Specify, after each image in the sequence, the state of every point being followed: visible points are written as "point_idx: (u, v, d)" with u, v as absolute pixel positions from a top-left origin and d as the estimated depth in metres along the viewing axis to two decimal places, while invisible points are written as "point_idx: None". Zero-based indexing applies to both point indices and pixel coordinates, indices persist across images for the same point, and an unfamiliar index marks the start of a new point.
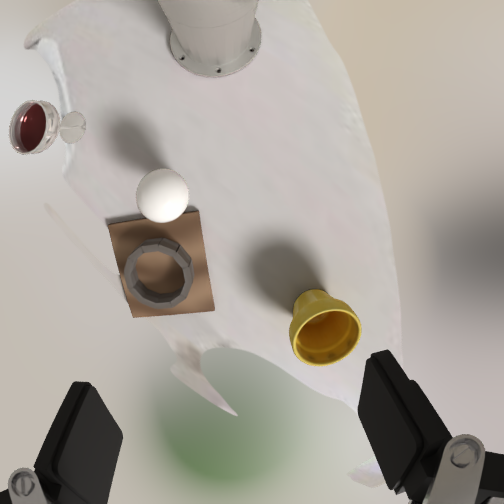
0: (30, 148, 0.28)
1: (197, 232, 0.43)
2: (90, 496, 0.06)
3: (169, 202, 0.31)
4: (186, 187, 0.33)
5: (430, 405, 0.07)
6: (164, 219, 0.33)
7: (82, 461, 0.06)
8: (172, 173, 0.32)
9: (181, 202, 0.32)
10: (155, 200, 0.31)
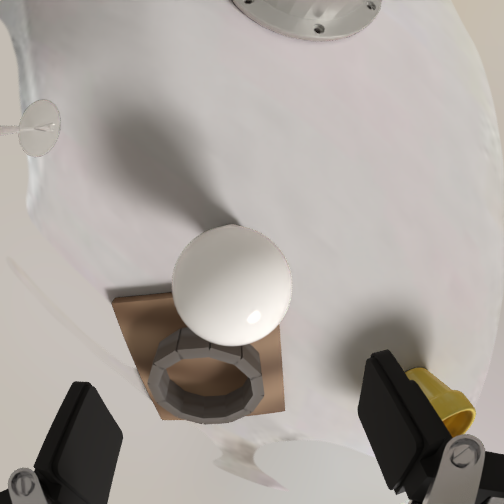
0: None
1: None
2: (90, 496, 0.06)
3: (263, 319, 0.14)
4: (290, 272, 0.15)
5: (430, 405, 0.07)
6: (244, 344, 0.15)
7: (82, 461, 0.06)
8: (261, 243, 0.14)
9: (284, 311, 0.15)
10: (230, 318, 0.13)
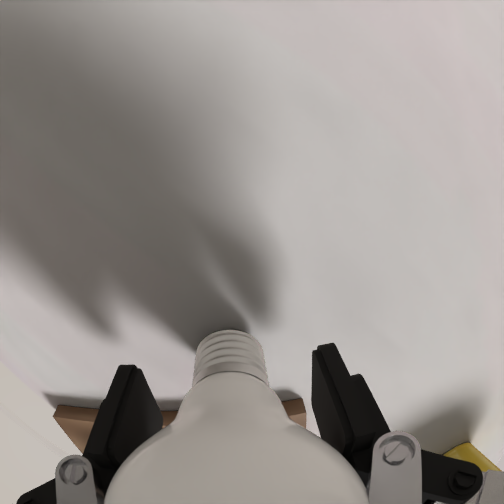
0: None
1: None
2: None
3: None
4: None
5: (373, 399, 0.07)
6: None
7: (133, 443, 0.07)
8: None
9: None
10: None
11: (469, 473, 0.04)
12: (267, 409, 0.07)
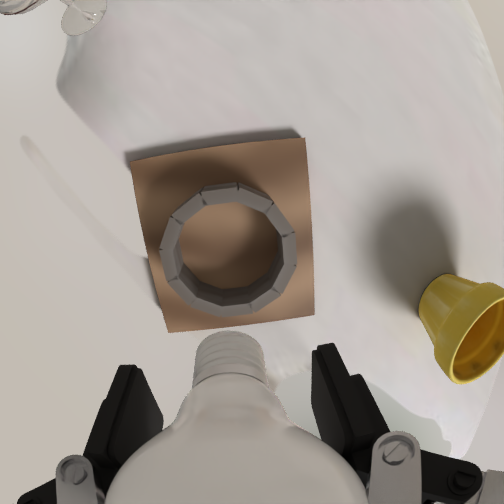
0: None
1: (301, 174, 0.23)
2: None
3: None
4: None
5: (372, 399, 0.07)
6: None
7: (133, 443, 0.07)
8: None
9: None
10: None
11: (469, 473, 0.04)
12: (267, 411, 0.07)
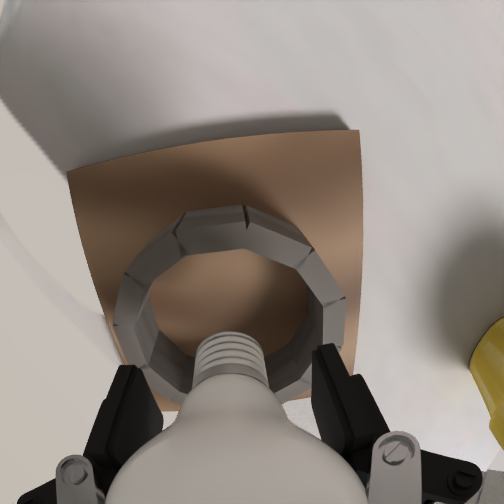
0: None
1: (352, 191, 0.14)
2: None
3: None
4: None
5: (372, 399, 0.07)
6: None
7: (133, 443, 0.07)
8: None
9: None
10: None
11: (469, 473, 0.04)
12: (267, 411, 0.07)
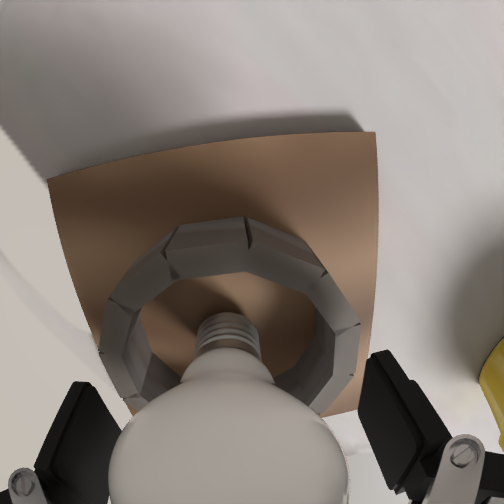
0: None
1: (367, 201, 0.12)
2: (90, 496, 0.06)
3: None
4: (349, 477, 0.06)
5: (430, 405, 0.07)
6: None
7: (82, 461, 0.06)
8: (299, 467, 0.04)
9: None
10: None
11: None
12: (257, 376, 0.08)
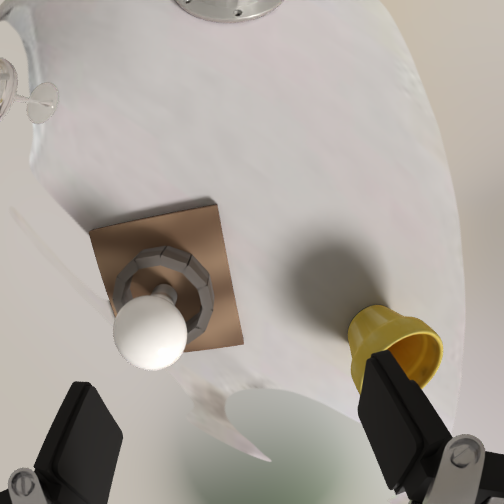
0: None
1: (216, 235, 0.30)
2: (90, 496, 0.06)
3: (160, 355, 0.21)
4: (181, 325, 0.23)
5: (430, 405, 0.07)
6: (158, 369, 0.23)
7: (82, 461, 0.06)
8: (158, 309, 0.22)
9: (177, 350, 0.22)
10: (140, 355, 0.21)
11: None
12: None
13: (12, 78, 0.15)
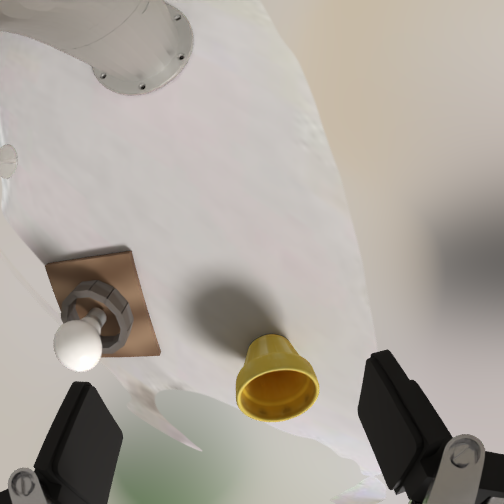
0: None
1: (130, 275, 0.36)
2: (90, 496, 0.06)
3: (79, 363, 0.28)
4: (94, 344, 0.30)
5: (430, 405, 0.07)
6: (81, 371, 0.29)
7: (82, 461, 0.06)
8: (77, 332, 0.29)
9: (91, 360, 0.29)
10: (66, 361, 0.28)
11: None
12: (87, 321, 0.32)
13: None
